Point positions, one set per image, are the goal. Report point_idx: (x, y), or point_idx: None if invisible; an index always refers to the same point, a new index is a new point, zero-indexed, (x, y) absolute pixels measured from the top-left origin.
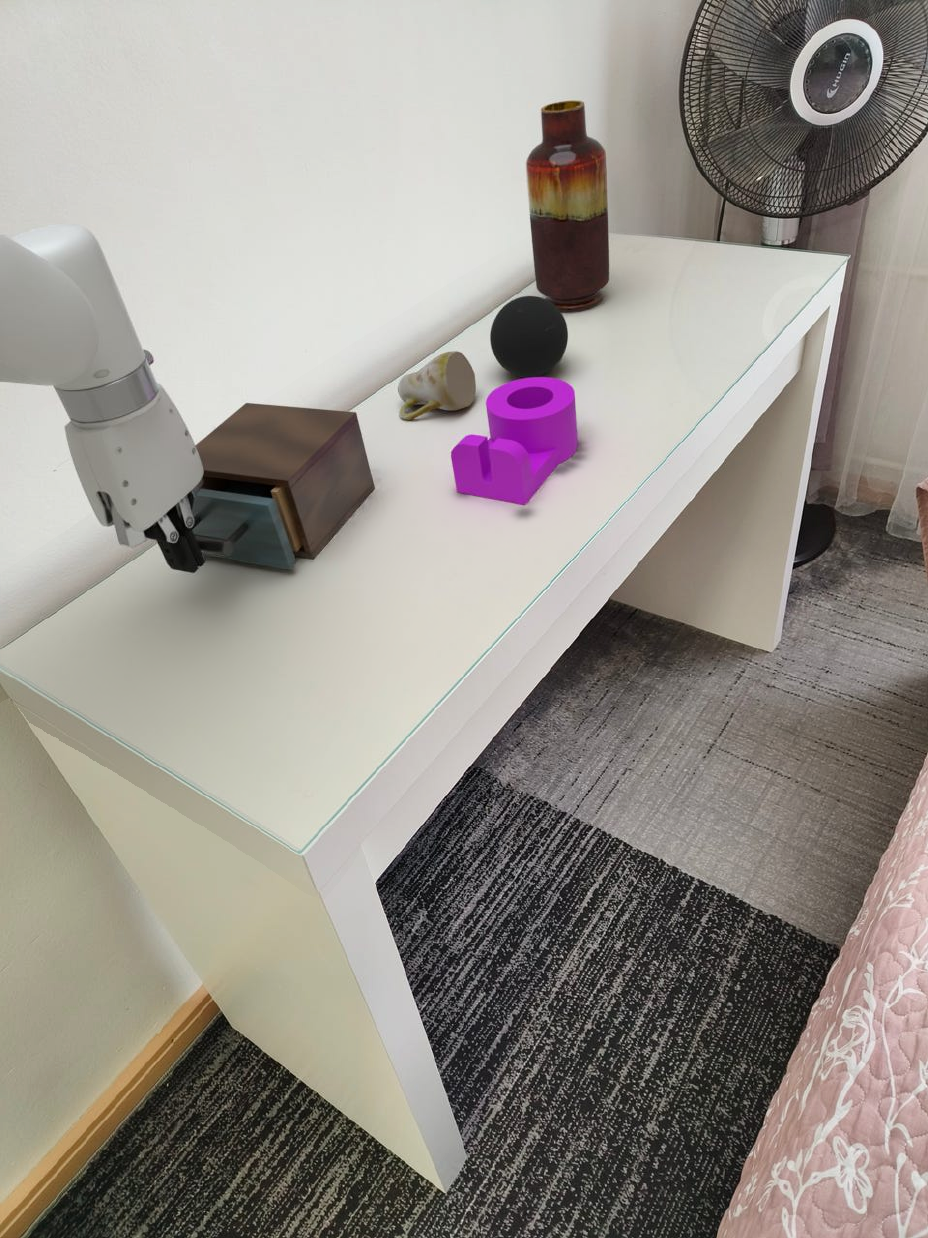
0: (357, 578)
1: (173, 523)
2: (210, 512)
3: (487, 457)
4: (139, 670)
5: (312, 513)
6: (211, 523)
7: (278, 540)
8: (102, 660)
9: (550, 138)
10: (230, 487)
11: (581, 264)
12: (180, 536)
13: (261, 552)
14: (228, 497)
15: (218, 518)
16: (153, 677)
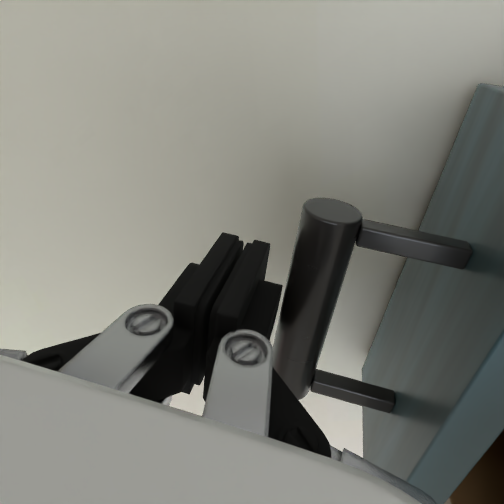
0: (355, 438)
1: (208, 383)
2: (443, 339)
3: None
4: (77, 169)
5: None
6: (439, 294)
7: (364, 430)
8: (64, 62)
9: None
10: None
11: None
12: (187, 382)
13: (380, 351)
14: (432, 468)
15: (428, 343)
16: (75, 205)
